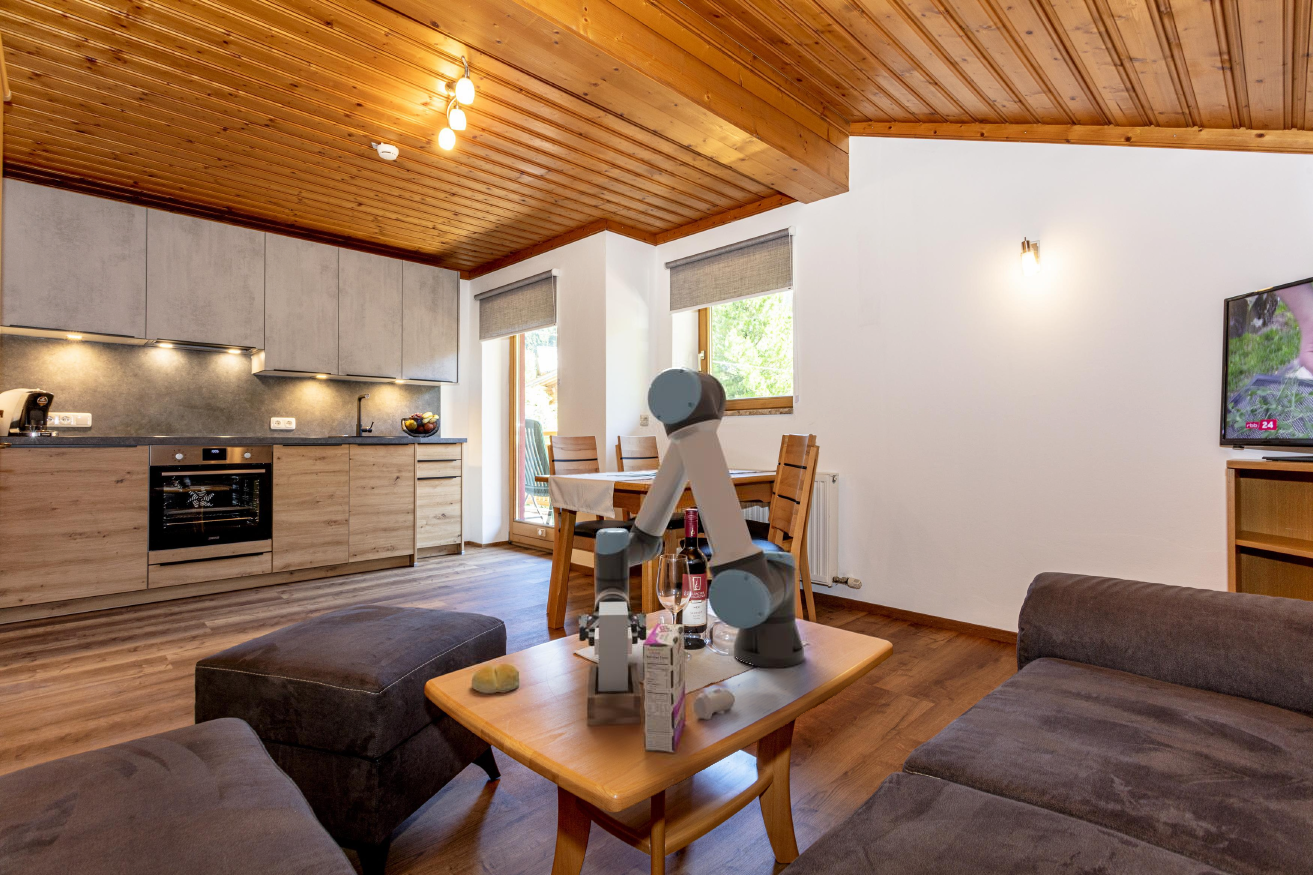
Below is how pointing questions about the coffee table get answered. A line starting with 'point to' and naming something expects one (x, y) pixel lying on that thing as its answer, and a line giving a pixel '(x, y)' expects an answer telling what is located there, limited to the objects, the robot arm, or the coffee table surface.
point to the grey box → (613, 646)
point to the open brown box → (613, 700)
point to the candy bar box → (664, 687)
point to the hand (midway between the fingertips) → (613, 646)
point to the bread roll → (496, 679)
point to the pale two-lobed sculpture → (713, 703)
